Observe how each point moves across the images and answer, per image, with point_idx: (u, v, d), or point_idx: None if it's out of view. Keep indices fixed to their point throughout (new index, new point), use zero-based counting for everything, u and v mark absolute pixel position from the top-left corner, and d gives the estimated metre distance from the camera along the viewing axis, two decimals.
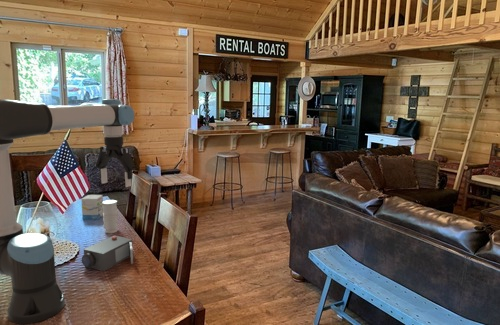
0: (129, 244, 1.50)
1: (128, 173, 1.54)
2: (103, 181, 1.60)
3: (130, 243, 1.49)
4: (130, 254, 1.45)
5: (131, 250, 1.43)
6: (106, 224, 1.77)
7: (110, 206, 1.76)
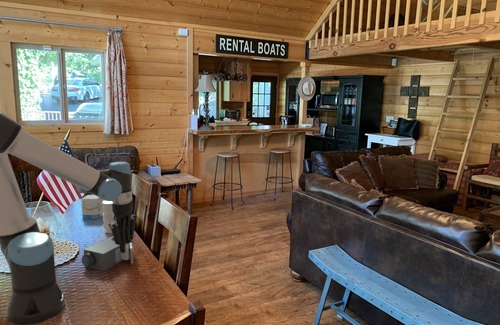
0: (129, 244, 1.50)
1: None
2: None
3: (130, 243, 1.49)
4: (130, 254, 1.45)
5: (131, 250, 1.43)
6: (106, 224, 1.77)
7: (110, 206, 1.76)
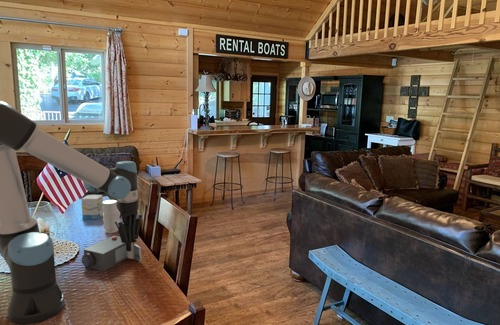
0: None
1: None
2: (128, 255, 1.46)
3: None
4: (137, 253, 1.47)
5: (140, 248, 1.45)
6: (106, 224, 1.77)
7: (110, 206, 1.76)
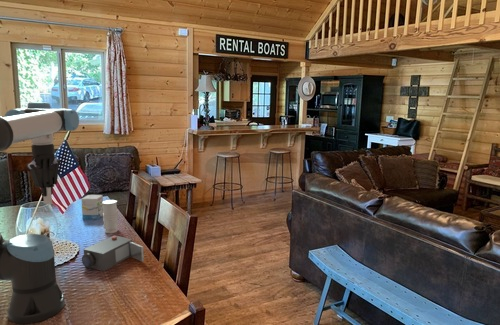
0: (130, 244, 1.50)
1: None
2: None
3: (132, 243, 1.50)
4: (138, 252, 1.47)
5: (142, 247, 1.46)
6: (106, 224, 1.77)
7: (110, 206, 1.76)
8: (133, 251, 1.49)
